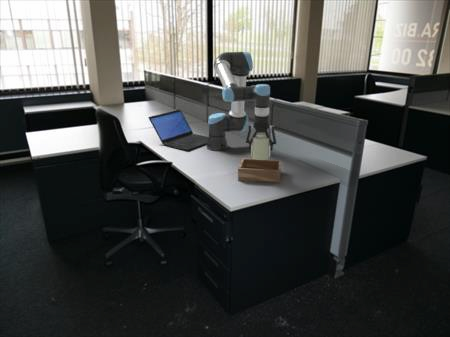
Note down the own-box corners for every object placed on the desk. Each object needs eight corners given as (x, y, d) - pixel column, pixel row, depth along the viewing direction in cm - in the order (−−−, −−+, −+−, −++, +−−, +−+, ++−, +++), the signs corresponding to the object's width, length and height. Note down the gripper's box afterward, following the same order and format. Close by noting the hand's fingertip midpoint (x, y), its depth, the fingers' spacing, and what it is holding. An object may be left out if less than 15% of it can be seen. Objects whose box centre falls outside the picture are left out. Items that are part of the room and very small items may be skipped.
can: (251, 154, 195) (251, 134, 190) (267, 154, 195) (268, 133, 191) (253, 160, 186) (253, 138, 182) (270, 160, 186) (271, 138, 182)
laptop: (187, 152, 235) (186, 124, 228) (150, 142, 256) (147, 117, 249) (218, 140, 259) (217, 115, 252) (181, 132, 281) (180, 109, 274)
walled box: (242, 169, 204) (242, 158, 202) (280, 171, 200) (281, 160, 198) (238, 180, 189) (238, 168, 187) (279, 183, 185) (280, 171, 183)
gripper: (240, 115, 180) (240, 156, 189) (282, 117, 177) (280, 159, 185) (242, 112, 187) (242, 152, 195) (282, 114, 184) (280, 154, 192)
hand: (260, 155), depth 190 cm, fingers closed on can, 9 cm apart
